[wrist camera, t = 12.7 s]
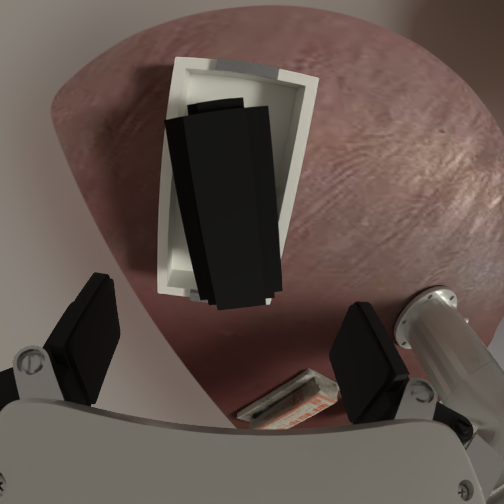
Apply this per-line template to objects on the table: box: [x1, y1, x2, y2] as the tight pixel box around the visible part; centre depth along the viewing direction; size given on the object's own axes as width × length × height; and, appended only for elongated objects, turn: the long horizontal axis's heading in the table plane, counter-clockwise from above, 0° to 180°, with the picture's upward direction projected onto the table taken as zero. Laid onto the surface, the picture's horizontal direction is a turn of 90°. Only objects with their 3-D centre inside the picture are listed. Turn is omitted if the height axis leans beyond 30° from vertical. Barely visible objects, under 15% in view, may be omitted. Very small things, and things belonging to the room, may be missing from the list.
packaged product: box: [237, 369, 340, 429], centre depth 46 cm, size 18×5×10 cm
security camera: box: [164, 97, 282, 310], centre depth 24 cm, size 7×18×10 cm, turn 6°
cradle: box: [157, 57, 319, 305], centre depth 27 cm, size 12×23×5 cm, turn 171°
